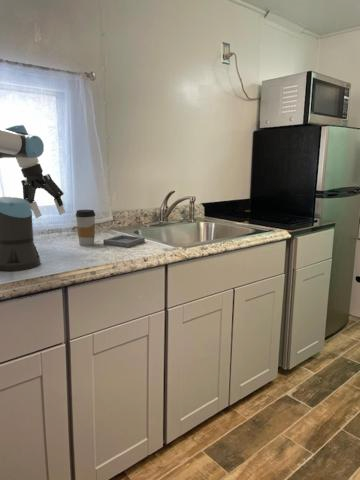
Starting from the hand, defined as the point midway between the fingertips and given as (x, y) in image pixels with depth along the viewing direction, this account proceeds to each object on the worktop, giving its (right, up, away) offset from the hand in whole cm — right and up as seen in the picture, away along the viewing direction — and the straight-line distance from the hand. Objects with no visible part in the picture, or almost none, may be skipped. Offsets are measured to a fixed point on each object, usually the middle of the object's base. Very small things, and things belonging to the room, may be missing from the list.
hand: (50, 215), depth 154 cm
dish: (+29, -12, +13) cm, 33 cm away
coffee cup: (+12, -12, +10) cm, 20 cm away
